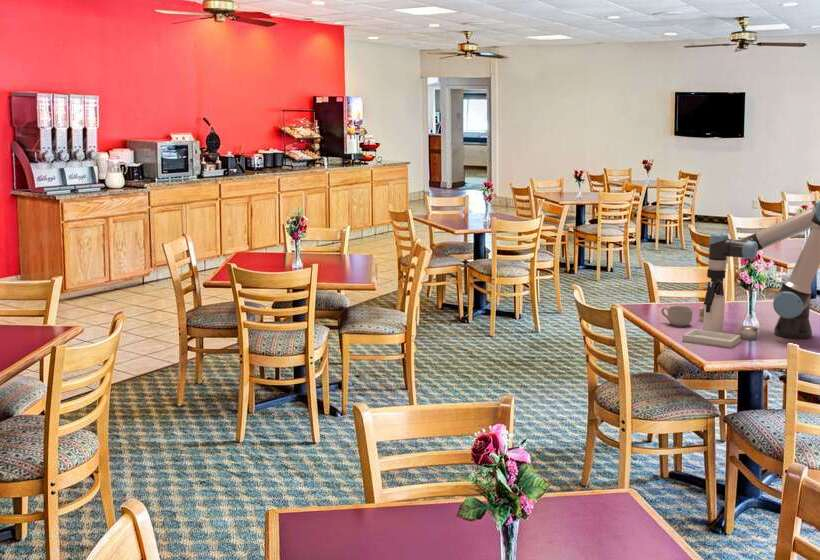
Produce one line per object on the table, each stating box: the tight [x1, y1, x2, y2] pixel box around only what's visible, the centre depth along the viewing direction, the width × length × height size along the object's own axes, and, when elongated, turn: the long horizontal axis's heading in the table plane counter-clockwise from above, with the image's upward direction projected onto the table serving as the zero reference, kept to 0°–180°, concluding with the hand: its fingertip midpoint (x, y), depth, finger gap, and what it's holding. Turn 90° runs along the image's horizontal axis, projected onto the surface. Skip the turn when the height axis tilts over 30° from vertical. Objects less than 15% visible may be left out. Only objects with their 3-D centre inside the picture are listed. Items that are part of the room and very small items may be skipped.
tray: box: [682, 328, 742, 349], centre depth 391 cm, size 20×14×3 cm
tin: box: [739, 325, 759, 341], centre depth 397 cm, size 7×7×5 cm
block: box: [698, 306, 704, 323], centre depth 431 cm, size 5×5×6 cm
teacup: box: [660, 305, 694, 328], centre depth 422 cm, size 14×11×8 cm
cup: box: [702, 294, 726, 333], centre depth 407 cm, size 8×8×16 cm
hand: (712, 316), depth 408 cm, fingers open, 13 cm apart
